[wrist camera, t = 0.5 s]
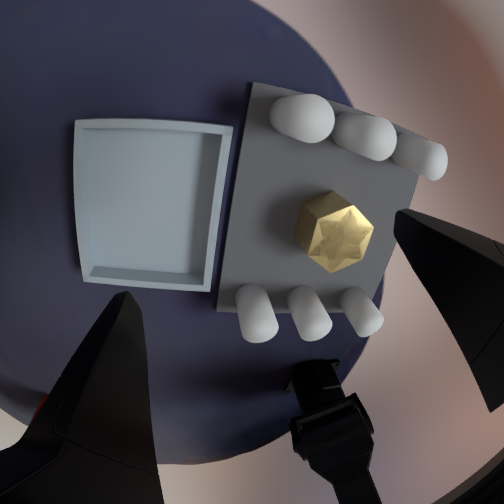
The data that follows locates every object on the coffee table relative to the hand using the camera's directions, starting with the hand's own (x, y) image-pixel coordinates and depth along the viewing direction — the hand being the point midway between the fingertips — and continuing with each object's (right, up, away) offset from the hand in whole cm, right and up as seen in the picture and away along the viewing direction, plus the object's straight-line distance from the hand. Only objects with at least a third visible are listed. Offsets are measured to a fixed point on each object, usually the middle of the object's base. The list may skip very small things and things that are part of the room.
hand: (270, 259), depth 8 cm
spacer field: (+6, +3, +15) cm, 16 cm away
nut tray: (-9, +4, +12) cm, 15 cm away
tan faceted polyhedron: (+6, +3, +15) cm, 16 cm away
